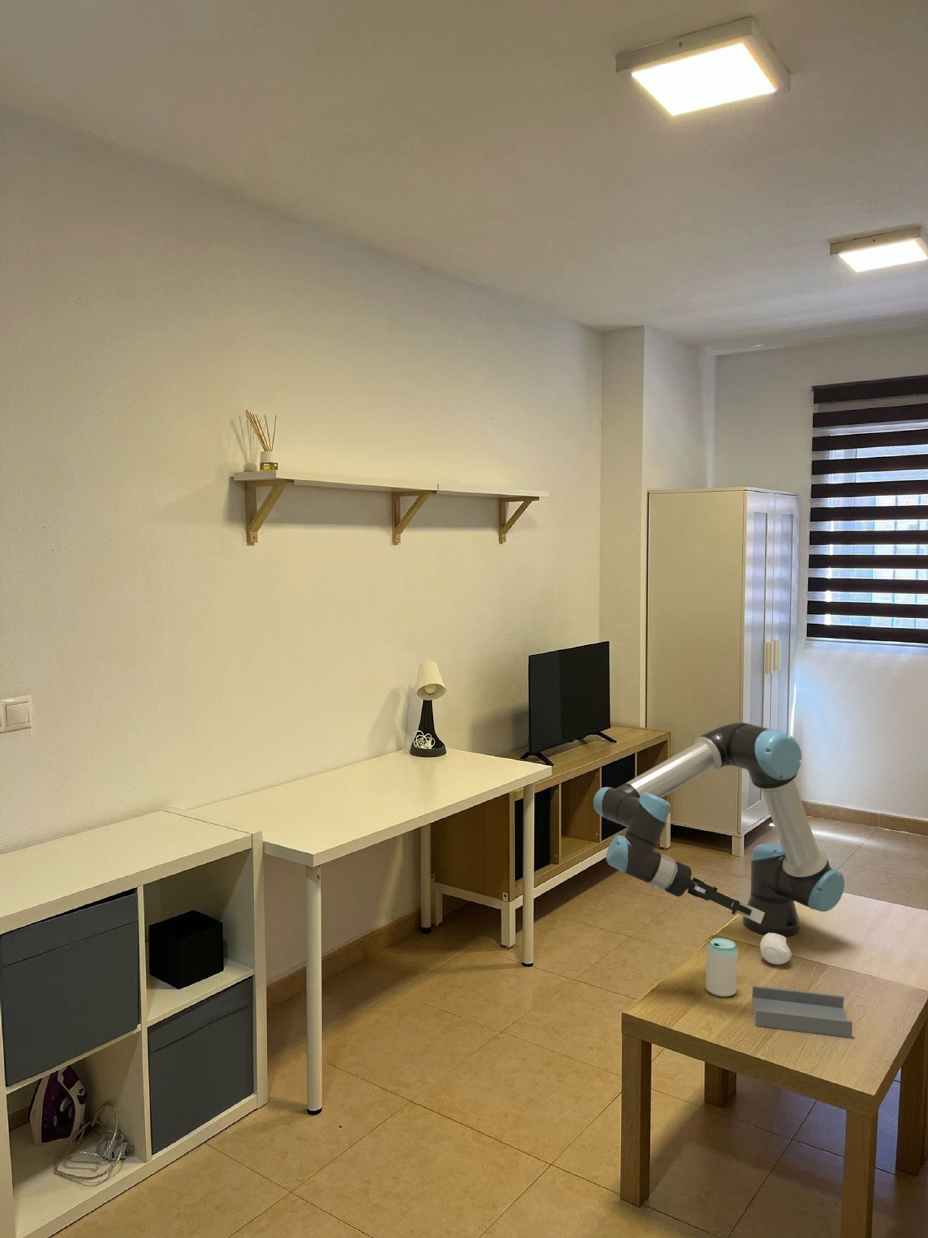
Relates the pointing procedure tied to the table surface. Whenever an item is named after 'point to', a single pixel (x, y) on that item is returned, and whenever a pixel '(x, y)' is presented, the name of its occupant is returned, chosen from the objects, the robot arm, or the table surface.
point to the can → (721, 967)
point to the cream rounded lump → (775, 949)
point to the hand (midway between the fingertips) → (751, 912)
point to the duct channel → (800, 1011)
